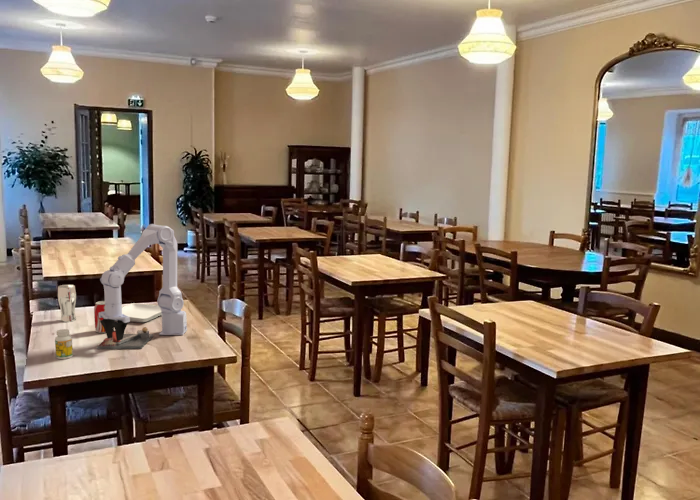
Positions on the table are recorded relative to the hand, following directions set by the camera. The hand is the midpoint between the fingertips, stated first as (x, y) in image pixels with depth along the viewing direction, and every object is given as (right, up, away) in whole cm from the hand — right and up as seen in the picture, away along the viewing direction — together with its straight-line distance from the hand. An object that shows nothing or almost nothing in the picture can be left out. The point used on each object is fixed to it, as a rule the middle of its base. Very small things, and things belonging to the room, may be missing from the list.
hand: (115, 338), depth 227 cm
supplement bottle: (-13, -5, -12) cm, 18 cm away
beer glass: (-34, +3, +35) cm, 49 cm away
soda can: (-12, 0, +20) cm, 23 cm away
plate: (+2, -2, +6) cm, 6 cm away
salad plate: (-6, +3, +43) cm, 43 cm away
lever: (+4, -1, +6) cm, 7 cm away
